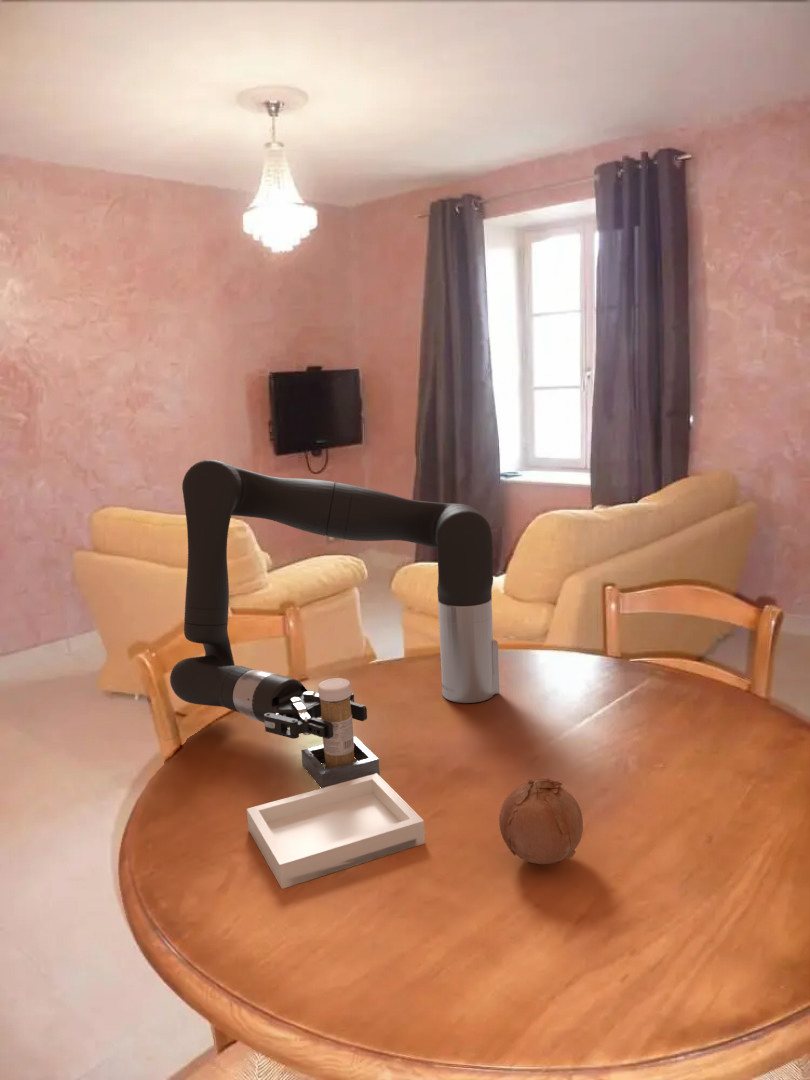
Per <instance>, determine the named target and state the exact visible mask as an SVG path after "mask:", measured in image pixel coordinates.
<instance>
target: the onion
mask: <svg viewBox="0 0 810 1080" xmlns="http://www.w3.org/2000/svg"><path fill="white" fill-rule="evenodd" d="M562 785H563V783H562V782H560V781H559V780H552V779H551V778H550V777H549V778H538V779H536V780H532V779H531V780H528V781H526V782H525V783H522V784H521V785H518V786H517V787H516V788H515V789H513V790H512V791H510V792H509V793H508V794H507V796H506V797H505V799H504V801H503V802H502V804H501V807H500V812H499V818H498V820H499V823H498V824H499V831H500V834H501V836H502V838H503V839H502V840H503V842H504V843H505V845H506V846H507V848H508V849H509V851H510V853H512V855H513V856H514V857H515V856H518V858H520V859H521V860H524V861H525V862H529V863H531V864H535V865H536V866H538V865H550V864H551V865H552V864H555V863H560V861H563V860H564V859H566V858H567V859H568V860H571V859H572V858H573V857H574V855H575V854H576V851H575V850H576V849H577V848H578V846H579V844H580V842H581V839H582V837H583V831H584V828H583V827H584V821H583V813H582V810H581V808H580V806H579V803H578V801H577V800H576V799H575V797H574V796H573V794H572V793H570V792H569V791H568V790H567V789H566V788H565V787H563V786H562Z"/></svg>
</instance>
